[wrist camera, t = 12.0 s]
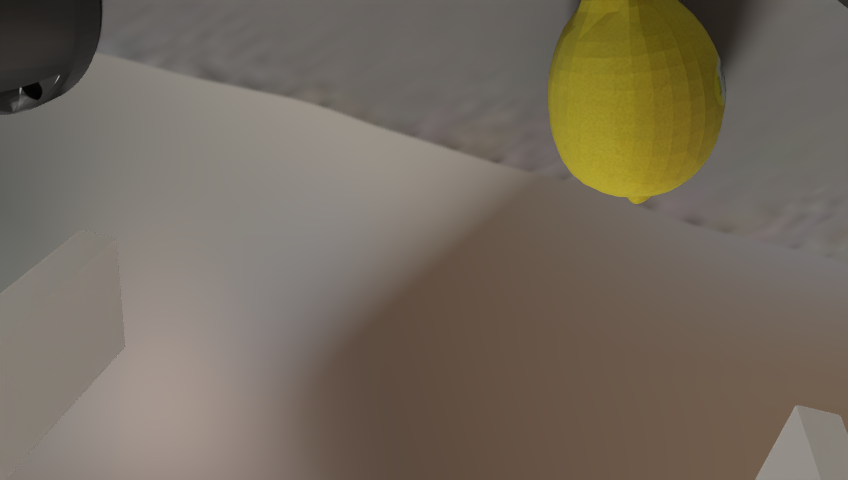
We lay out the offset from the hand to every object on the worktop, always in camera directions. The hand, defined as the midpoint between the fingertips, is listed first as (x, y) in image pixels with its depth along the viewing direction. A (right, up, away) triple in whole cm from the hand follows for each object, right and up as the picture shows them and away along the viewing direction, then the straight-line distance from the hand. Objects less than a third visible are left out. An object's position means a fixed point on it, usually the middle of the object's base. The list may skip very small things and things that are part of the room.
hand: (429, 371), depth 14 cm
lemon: (+10, +11, +23) cm, 28 cm away
